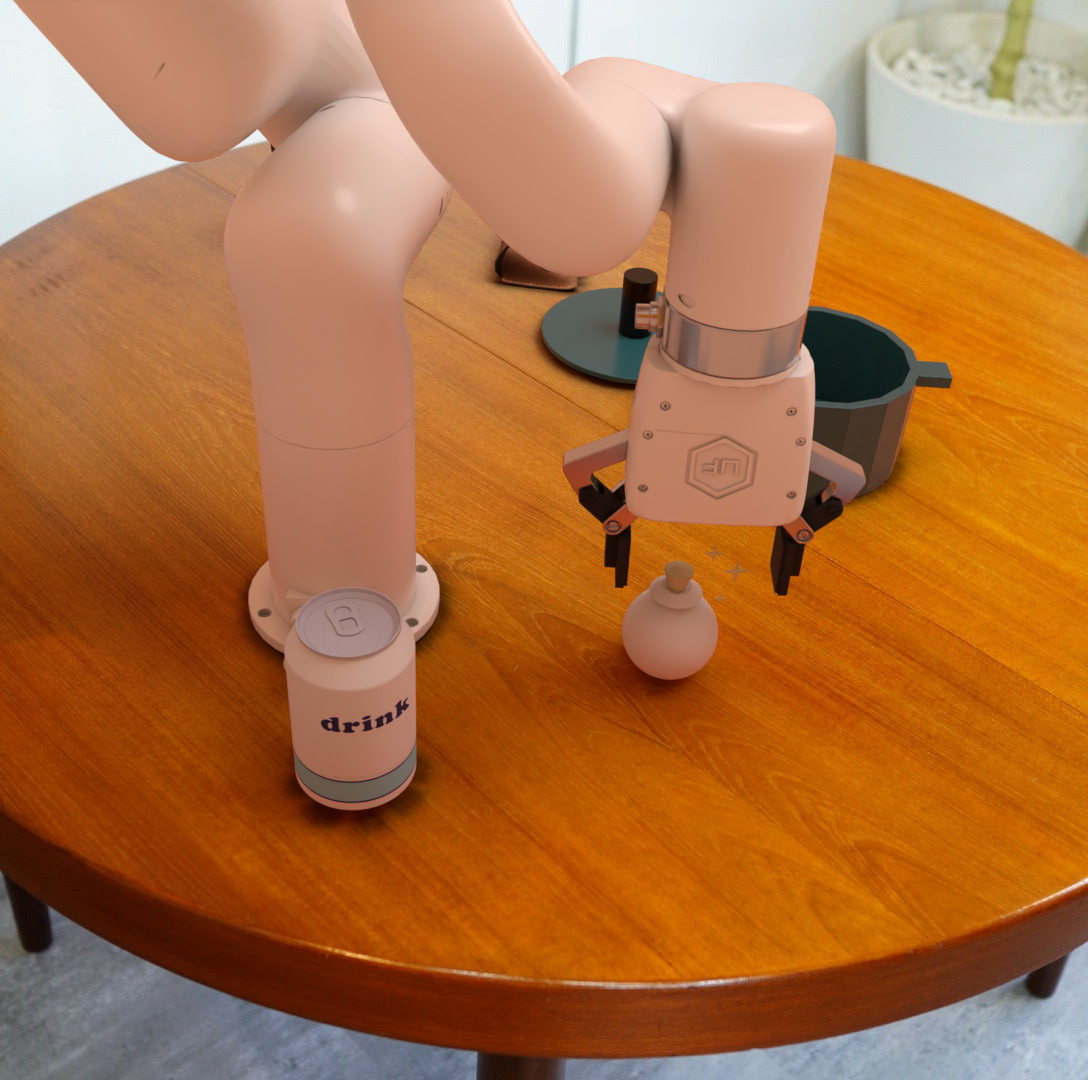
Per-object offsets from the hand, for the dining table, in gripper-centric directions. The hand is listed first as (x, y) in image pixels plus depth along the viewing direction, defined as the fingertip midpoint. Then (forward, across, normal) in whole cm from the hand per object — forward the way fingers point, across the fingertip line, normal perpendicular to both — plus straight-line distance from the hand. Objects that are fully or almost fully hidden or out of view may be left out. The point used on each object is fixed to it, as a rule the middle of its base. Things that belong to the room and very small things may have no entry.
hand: (699, 577), depth 80 cm
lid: (+7, -3, +42) cm, 43 cm away
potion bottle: (+8, -1, 0) cm, 8 cm away
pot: (+8, +10, +27) cm, 30 cm away
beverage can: (+7, -20, -11) cm, 24 cm away
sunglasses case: (+7, -11, +60) cm, 61 cm away
